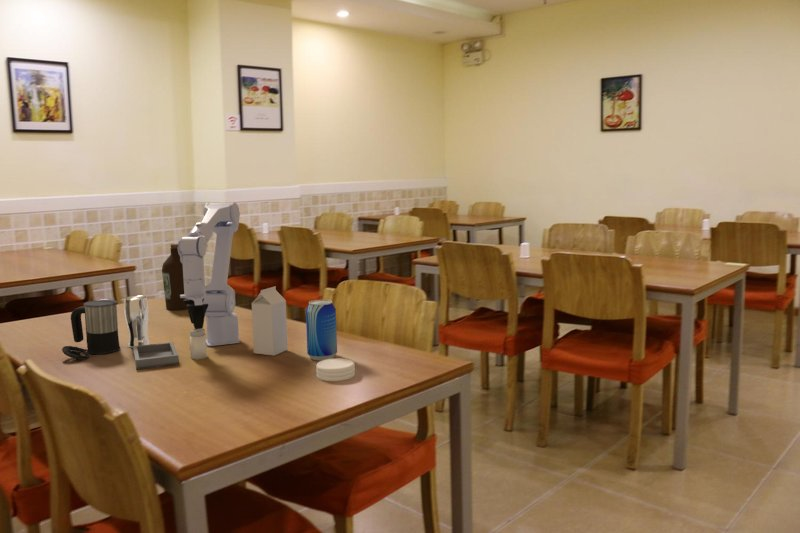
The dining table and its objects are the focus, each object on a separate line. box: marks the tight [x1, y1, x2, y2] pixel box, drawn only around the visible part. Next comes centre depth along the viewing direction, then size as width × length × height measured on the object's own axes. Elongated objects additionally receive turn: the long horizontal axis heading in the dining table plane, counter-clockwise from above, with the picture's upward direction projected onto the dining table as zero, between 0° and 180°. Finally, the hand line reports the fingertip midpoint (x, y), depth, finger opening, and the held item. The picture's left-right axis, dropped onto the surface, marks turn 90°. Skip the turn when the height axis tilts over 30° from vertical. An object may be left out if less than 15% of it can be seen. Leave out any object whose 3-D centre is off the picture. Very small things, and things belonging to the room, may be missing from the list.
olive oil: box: [161, 243, 188, 311], centre depth 260 cm, size 11×11×25 cm
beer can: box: [305, 299, 338, 361], centre depth 189 cm, size 8×8×16 cm
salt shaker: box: [189, 328, 208, 360], centre depth 191 cm, size 4×4×8 cm
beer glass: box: [123, 295, 150, 349], centre depth 205 cm, size 7×7×15 cm
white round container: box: [315, 357, 356, 382], centre depth 173 cm, size 10×10×4 cm
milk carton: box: [251, 285, 289, 357], centre depth 195 cm, size 7×7×19 cm
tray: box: [132, 341, 180, 370], centre depth 190 cm, size 11×16×3 cm
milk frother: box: [61, 299, 121, 361], centre depth 196 cm, size 14×16×15 cm
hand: (196, 325), depth 191 cm, fingers open, 7 cm apart
